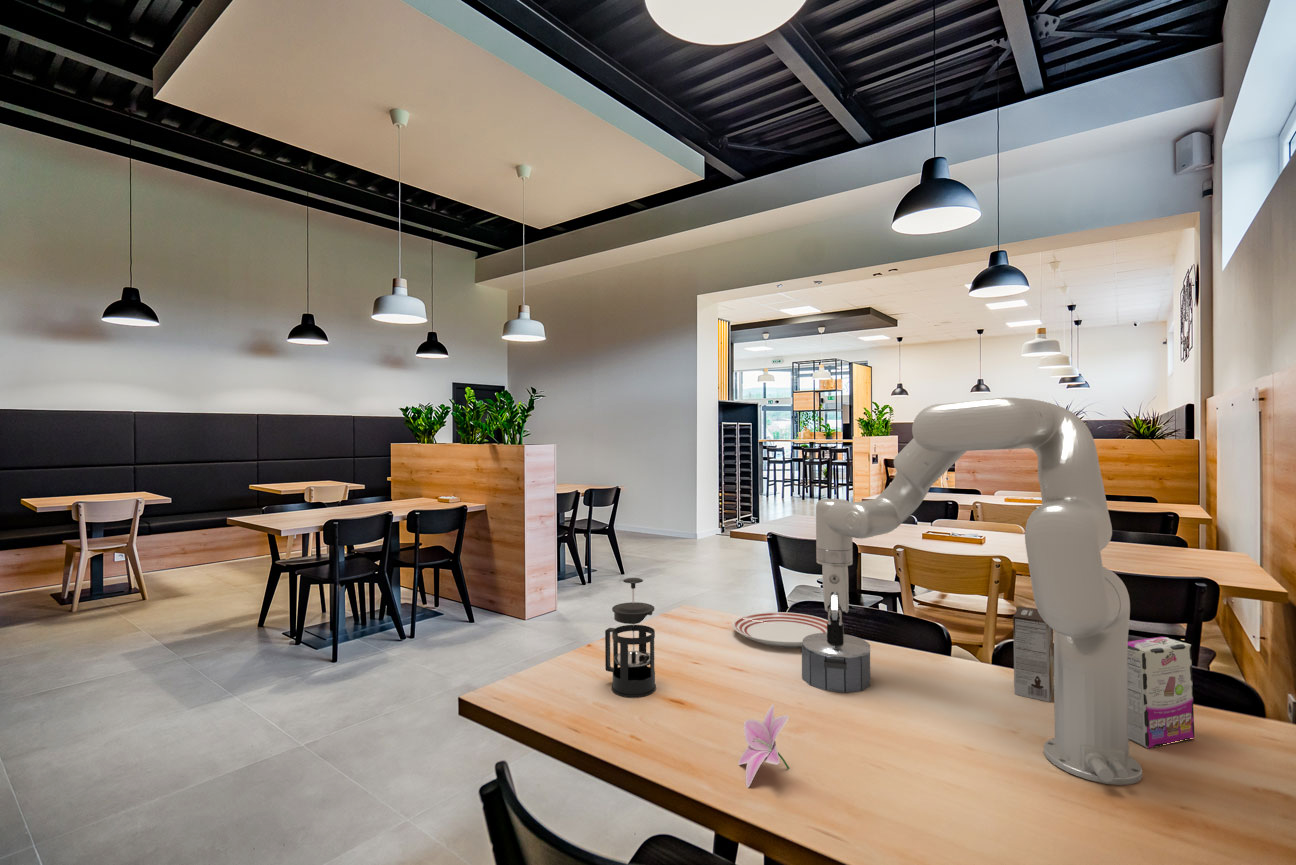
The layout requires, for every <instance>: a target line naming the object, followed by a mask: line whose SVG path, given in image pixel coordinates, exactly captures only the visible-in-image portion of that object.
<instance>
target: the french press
mask: <svg viewBox="0 0 1296 865" xmlns="http://www.w3.org/2000/svg"><path fill="white" fill-rule="evenodd" d="M643 581H644V579H642V578H640V577H628V578H624V579H623V580H622V582H623V583H626V584H630V589H632V590H631V591H632V592H631V593H632V602H624V603H618V604H615V605H614V606H612V608H611V609H612V610H611V611H612V613H614V614H613V615H614V617H613V618H614V621H615V622H618V623H622V624H625V625H619V626H617V627H608V628H607V629H605V630H604V635H605V637H604V639H605V640H604V643H605V646H604V648H605V650H604V652H605V653H604V656H605V657H604V658H605V659H604V660H605V662H604V664H605V671H606V672H609V673H610V672H611V673H612V685H611V691H612V692H613V693H614V694H615V695H617V696H619V697H624V698H632V699H633V698H635V699H637V698H644V697H648V696H650V695H652V694H654V693H655V692H656V690H657V684H656V671H655V637H656V634H655V632H656V631H655V629H654V628H653V627H651V626H649V625H644V624H640V623H641V622H642V621H644V620H645V619H646V617H647V616H652V615H653V612H655V606H654V605H652V604H649V603H646V602H637V601H635V589H636V584H640V583H642V582H643ZM626 632H632V637H624V636H620V635H619V634H621V633H626ZM635 632H638V637H635ZM647 633H648V634H649V635H647ZM611 634H612V635H611ZM611 636H612V642H613V643H612V644H613V645H612V648H613V649H612V651H613V652H612V654H613V657H612V658H613V665H612V666H611ZM647 643H648V644H649V652H647ZM630 645H631V646H632V650H629V646H630ZM635 645H638V650H635ZM618 646H619V647H618ZM619 649H620V650H619ZM619 652H620V653H619ZM649 665H650V666H649Z"/></svg>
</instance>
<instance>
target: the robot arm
mask: <svg viewBox="0 0 1296 865" xmlns="http://www.w3.org/2000/svg"><path fill="white" fill-rule="evenodd" d="M911 432H912V436H913V438H912V439H911V440H910V441H909V442H908V443H907V444H906V445H905V446H904V447H903V448H902V450H901V451H899V452H898V453H897V455H895V456H894V459H893V466H894V469H895V470H896V472H895V476H894V478H893V479H892V481H891V482H890V483H889V485H888V486H887V487H886V488H885V489H884V490H883V491H882V492H881V493H880V494H879V495H878V496H877V497H876V498H875V499H868V500H861V501H853V502H850V500H849V501H848V500H847V499H841V498H825V499H819V500H818V501H817V502H816V504H815V528H816V529H815V530H816V531H815V533H816V534H815V536H816V538H815V539H816V542H815V545H816V548H815V549H816V550H815V551H816V553H815V554H816V563H817V564H819V565H822V570H821V571H822V572H821V573H822V576H821V577H822V595H823V604H824V611H825V612H827V620H828V624H827V642H828V643H829V644H840V645H842V644H843V625H842V622H843V623H844V621H843V618H844V617H843V612H845V613H846V614H848V612H849V606H850V605H849V603H850V602H849V600H850V598H849V592H850V591H849V568H848V567H849V566H852V565H853V538H854V539H862V540H863V539H867V538H868V539H869V538H873V537H877V536H881V535H884V534H886V535H887V534H888V533H891V532H893V531H895V530H896V529H897V528H898V527H899V526H901V524H903V523H904V522H905V521H906V520H907V519H908V518H909V517H910V516H911V515H912V514H914V512H915V511H916V510H917V509H918V508H919V506H920V505H921V504H922V502H924V500H925V498H926V497H927V494H928V493H929V490H930V488H931V487H932V486H933V485H934V484H935V483H936V482H937V481H938V480H939V479H940V478H941V477H942V476H943V475H944V474H945V473H946V472H947V471H948V470H949V469H950V468H951V467H952V466H953V465H955V464H956V463H957V461H958V460H959V459H961V458H962V456H964V455H965V454H966V453H967V452H968V451H970V452H972V451H987V450H988V451H989V450H991V451H992V450H994V451H995V450H1015V449H1017V450H1018V449H1030V450H1033V451H1034V452H1035V454H1036V457H1037V477H1038V478H1037V480H1038V483H1039V488H1040V496H1041V504H1040V505H1039V506H1038V507H1036V508H1035V509H1034V510H1033V511H1031V513H1030V515H1029V516H1028V519H1027V520H1026V524H1025V529H1024V531H1025V532H1024V540H1025V541H1024V543H1025V551H1026V557H1027V563H1028V569H1029V570H1028V571H1029V576H1030V583H1031V588H1032V594H1033V601H1034V604H1035V607H1036V608H1035V609H1037V610H1038V612H1039V614H1040V616H1041V617H1042V619H1043V620H1044V621H1045V623H1046V624H1047V625H1048V626H1050V627H1051V628H1052V629H1053V659H1054V689H1053V693H1054V694H1053V695H1054V697H1053V698H1054V701H1053V702H1054V705H1053V707H1054V737H1053V738H1050V739H1048V740H1046V741H1045V742H1044V743H1043V754H1044V755H1045V757H1046V759H1048V761H1049V762H1050V763H1051V764H1053V766H1056V767H1058V768H1059V769H1061V770H1063V771H1065V772H1066V773H1069V774H1071V775H1074V776H1076V777H1078V778H1079V777H1080V778H1082V779H1085V780H1087V781H1092V782H1095V783H1100V784H1105V785H1113V786H1114V785H1116V786H1124V785H1132V784H1137V783H1138V782H1140V781H1141V780H1142V778H1143V769H1142V768H1143V767H1142V766H1141V765H1140V763H1139V762H1138V761H1137V760H1136V759H1134V757H1132V756H1130V752H1129V750H1130V747H1129V746H1130V745H1129V744H1130V743H1129V741H1130V740H1129V738H1128V680H1127V673H1128V642H1129V631H1130V630H1129V628H1130V616H1131V615H1130V614H1131V601H1130V600H1131V599H1130V594H1129V592H1128V588H1127V587H1126V585H1125V583H1124V582H1123V580H1122V579H1121V578H1120V577H1119V576H1118V575H1117V574H1116V573H1114V572H1113V571H1112V570H1111V569H1109V568H1107V567H1104V565H1103V559H1102V553H1101V551H1103V550H1104V549H1105V548H1106V547H1107V546H1108V545H1109V543H1110V541H1111V540H1112V536H1113V527H1112V522H1111V518H1110V513H1109V508H1108V502H1107V498H1106V493H1105V492H1106V491H1105V487H1104V486H1105V485H1104V482H1103V477H1102V473H1101V472H1102V471H1101V467H1100V461H1099V456H1098V450H1097V446H1096V444H1095V443H1096V442H1095V439H1094V437H1093V434H1092V433H1091V430H1090V429H1089V428H1088V426H1087V425H1086V423H1085V422H1084V421H1083V420H1082V419H1081V418H1080V417H1079V416H1078V415H1077V414H1075V413H1074V412H1073V411H1071V410H1068V409H1067V408H1065V407H1063V406H1060V405H1057V404H1055V403H1052V402H1046V401H1044V400H1037V399H1031V398H1020V397H997V398H996V397H995V398H989V399H988V398H987V399H978V400H968V401H961V402H951V403H950V402H948V403H938V404H937V403H936V404H932V405H929V406H927V407H924V408H923V409H922V410H921V411H920V412H919V413H918V414H917V415H916V416H915V418H914V420H913V422H912V428H911Z"/></svg>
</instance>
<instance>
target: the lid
mask: <svg viewBox="0 0 1296 865" xmlns="http://www.w3.org/2000/svg"><path fill="white" fill-rule="evenodd" d="M842 625H843V644H842V645H840V644H829V643H828V642H827V633H816V634H811V635H808V636H806V637H804V639H803V647H804V648H805V649H806V650H808V651H810V652H812V653H815V654H818V655H821V656H826V657H832V658H845V659H847V658H859V657H863V656H866V655H867V654H869V653H870V654H871V644H870V643H869V642H868V641H866V640H865V639H863V638H861V637H857V636H853V635H850V634H845V632H844V630H845V629H844V628H845V627H844V621H843V622H842Z"/></svg>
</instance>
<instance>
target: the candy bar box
mask: <svg viewBox="0 0 1296 865" xmlns="http://www.w3.org/2000/svg"><path fill="white" fill-rule="evenodd" d="M1192 661H1193V660H1192V644H1190V643H1187V642H1183V641H1181V640H1177V639H1174V638H1171V637H1170V638H1169V637H1167V636H1158V637H1157V636H1156V637H1150V638H1143V639H1136V640H1131V641H1130V640H1128V673H1127V680H1128V738H1129V741H1130V740H1131V741H1130V742H1132V741H1133V743H1134V742H1135V744H1137V743H1138V744H1137V745H1139V744H1140V745H1139V746H1141V745H1142V747H1143V746H1144V747H1143V748H1147V749H1153V748H1152V747H1154V748H1156V747H1155V746H1159V747H1161V746H1160V745H1163V744H1167V743H1171V742H1175V741H1180V740H1185V739H1190V738H1194V737H1196V736H1195V716H1194V692H1193V687H1194V686H1193V667H1192V666H1193V665H1192V664H1193V663H1192Z"/></svg>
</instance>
